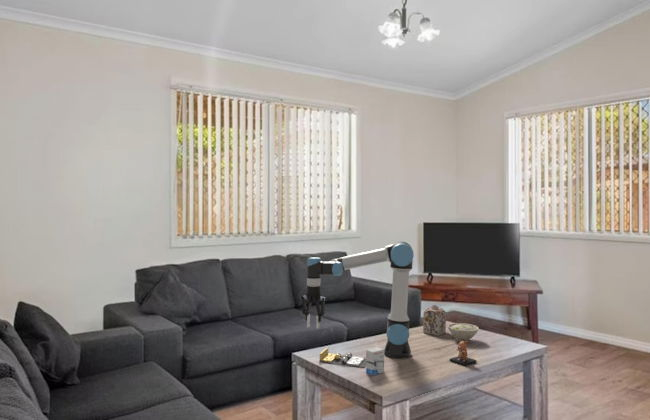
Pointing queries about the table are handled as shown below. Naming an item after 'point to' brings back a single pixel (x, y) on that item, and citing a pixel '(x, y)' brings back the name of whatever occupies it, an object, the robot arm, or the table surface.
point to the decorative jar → (434, 320)
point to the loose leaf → (329, 356)
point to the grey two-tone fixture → (346, 362)
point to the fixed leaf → (352, 360)
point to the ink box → (374, 361)
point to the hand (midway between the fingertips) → (313, 327)
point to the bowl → (462, 331)
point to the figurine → (463, 355)
